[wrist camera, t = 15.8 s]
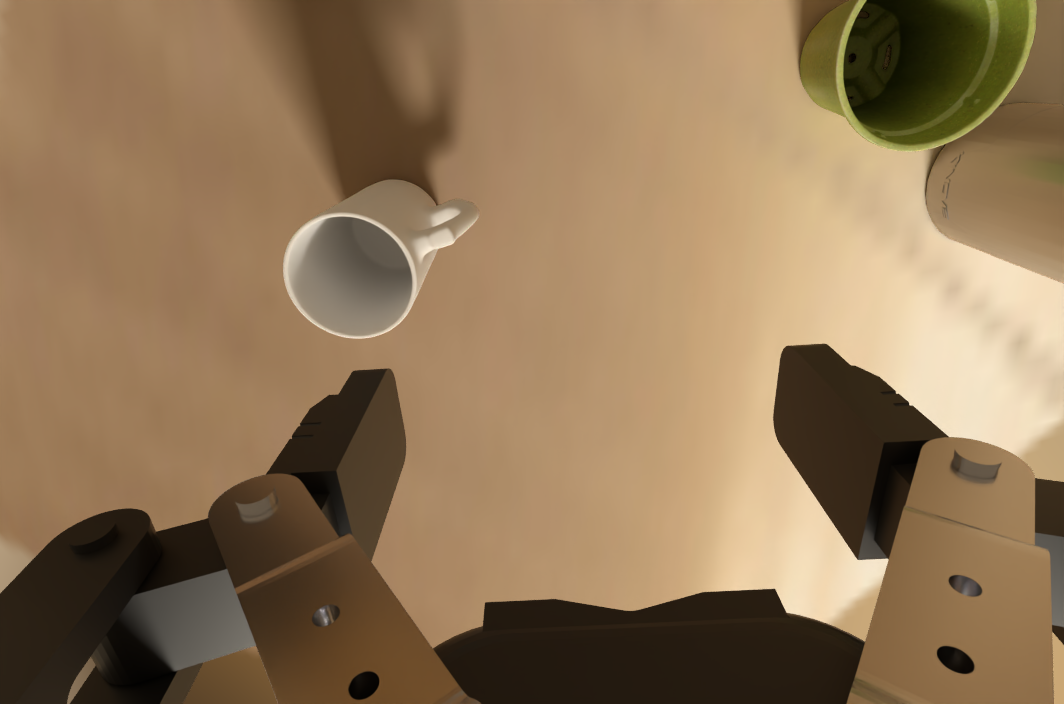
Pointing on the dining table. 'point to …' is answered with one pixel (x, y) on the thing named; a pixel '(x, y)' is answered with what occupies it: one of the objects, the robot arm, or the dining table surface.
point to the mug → (370, 256)
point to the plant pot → (917, 66)
